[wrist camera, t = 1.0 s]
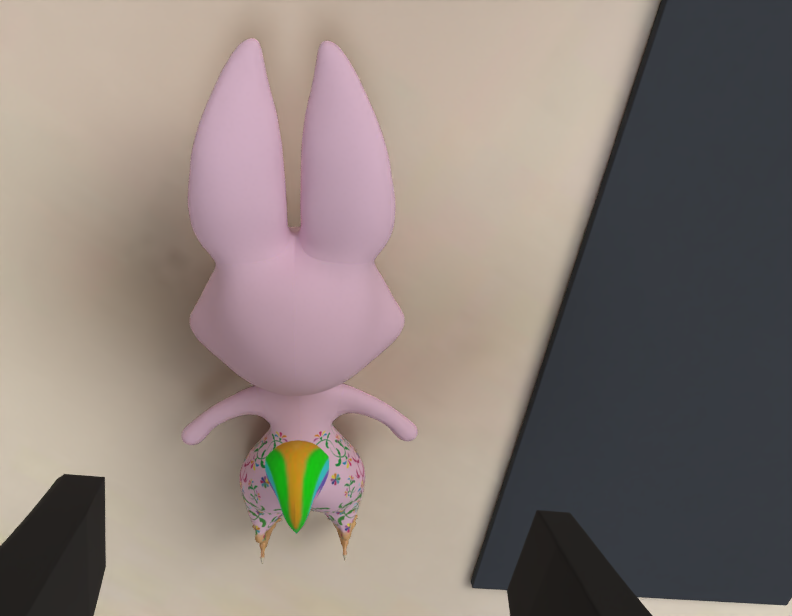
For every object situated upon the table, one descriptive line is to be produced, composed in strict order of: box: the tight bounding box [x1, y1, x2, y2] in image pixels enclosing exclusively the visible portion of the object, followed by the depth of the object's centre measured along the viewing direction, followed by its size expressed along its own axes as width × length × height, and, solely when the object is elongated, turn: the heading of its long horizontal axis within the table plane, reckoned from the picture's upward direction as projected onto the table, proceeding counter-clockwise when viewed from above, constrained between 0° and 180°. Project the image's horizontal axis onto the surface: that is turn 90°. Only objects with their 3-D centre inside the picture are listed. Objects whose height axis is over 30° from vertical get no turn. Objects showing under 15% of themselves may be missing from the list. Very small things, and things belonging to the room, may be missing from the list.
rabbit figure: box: [181, 38, 418, 564], centre depth 18 cm, size 6×6×15 cm
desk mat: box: [471, 0, 792, 605], centre depth 22 cm, size 20×12×1 cm, turn 170°
